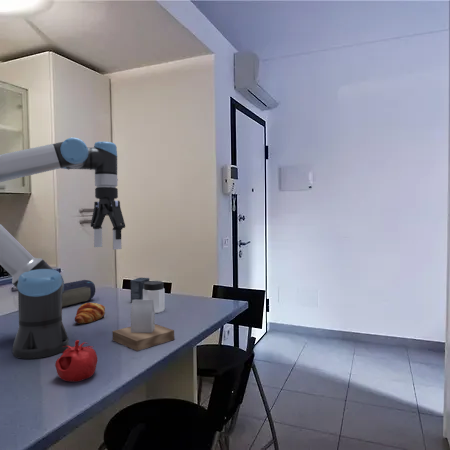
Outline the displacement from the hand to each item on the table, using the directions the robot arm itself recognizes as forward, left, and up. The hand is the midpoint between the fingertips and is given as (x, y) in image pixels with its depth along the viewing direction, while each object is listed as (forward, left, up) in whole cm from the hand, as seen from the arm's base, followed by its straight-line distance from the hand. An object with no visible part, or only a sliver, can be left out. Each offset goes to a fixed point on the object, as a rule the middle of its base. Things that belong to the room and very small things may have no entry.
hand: (107, 248), depth 133 cm
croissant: (+3, +18, -29) cm, 34 cm away
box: (+32, +28, -29) cm, 52 cm away
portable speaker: (+7, +47, -29) cm, 56 cm away
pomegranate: (-25, -30, -29) cm, 48 cm away
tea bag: (+2, -18, -26) cm, 32 cm away
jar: (+26, +9, -29) cm, 40 cm away
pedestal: (+2, -19, -29) cm, 34 cm away
